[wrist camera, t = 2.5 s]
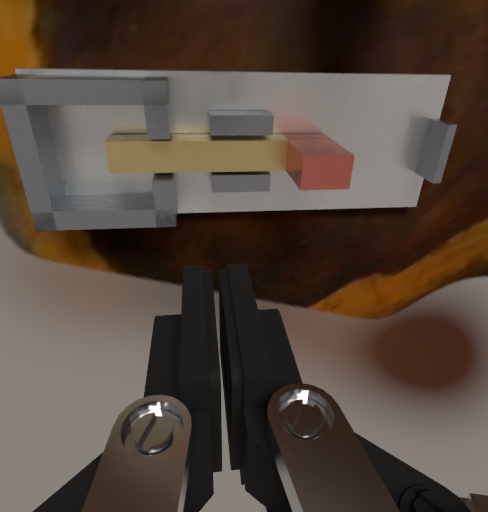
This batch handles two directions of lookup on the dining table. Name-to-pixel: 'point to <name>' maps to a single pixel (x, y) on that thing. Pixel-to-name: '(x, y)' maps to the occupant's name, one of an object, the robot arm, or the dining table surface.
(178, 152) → the lock pin
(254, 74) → the station
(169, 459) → the robot arm
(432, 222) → the dining table surface
